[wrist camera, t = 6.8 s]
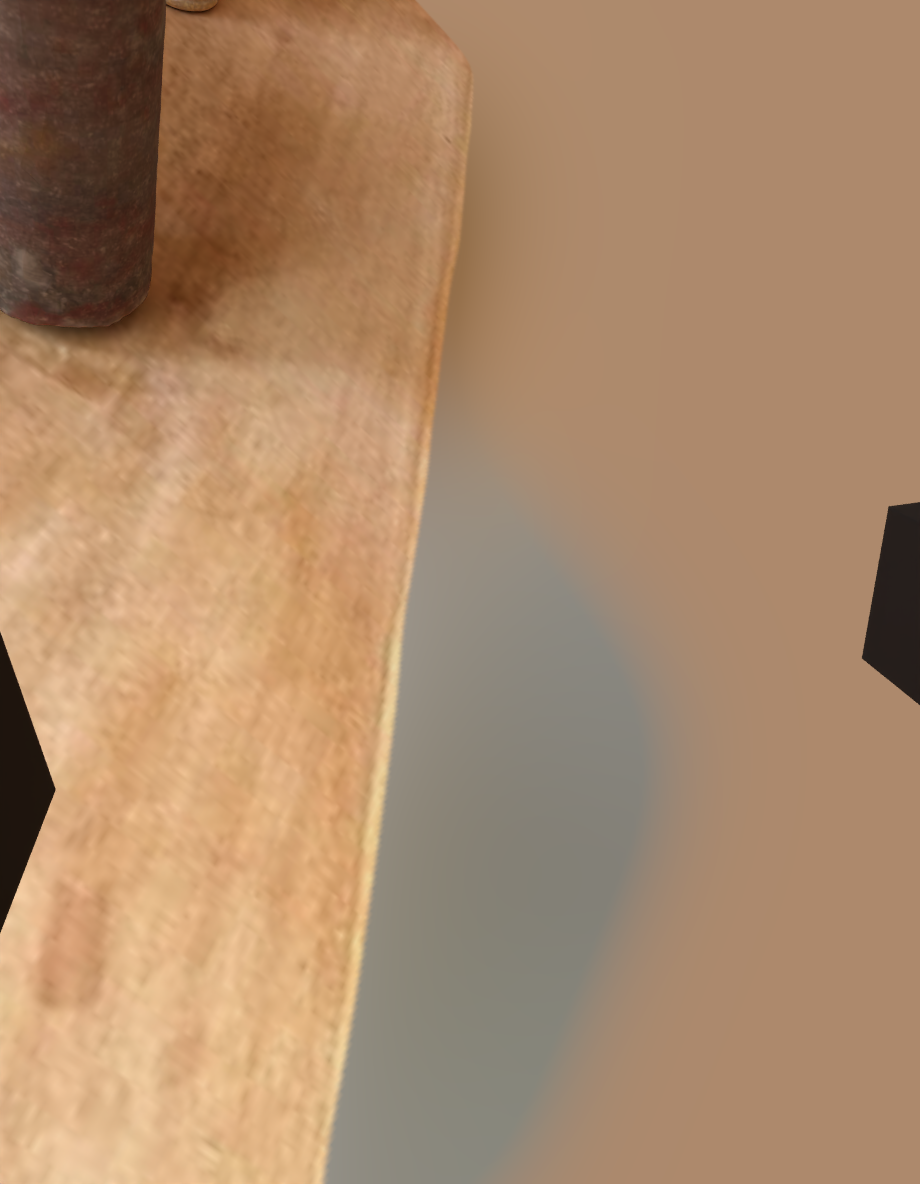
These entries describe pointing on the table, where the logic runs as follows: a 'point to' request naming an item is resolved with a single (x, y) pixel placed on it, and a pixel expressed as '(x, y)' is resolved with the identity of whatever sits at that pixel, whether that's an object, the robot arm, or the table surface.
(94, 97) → the candle
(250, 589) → the table surface
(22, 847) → the robot arm
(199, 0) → the spice jar
